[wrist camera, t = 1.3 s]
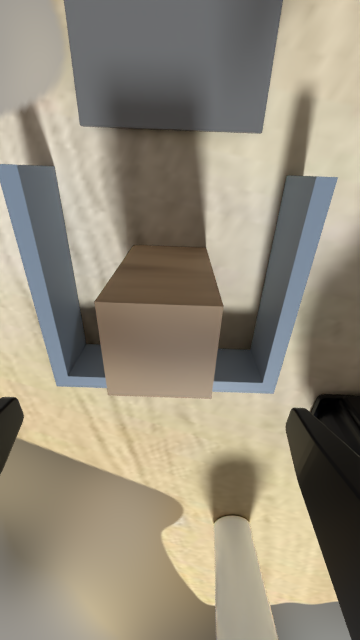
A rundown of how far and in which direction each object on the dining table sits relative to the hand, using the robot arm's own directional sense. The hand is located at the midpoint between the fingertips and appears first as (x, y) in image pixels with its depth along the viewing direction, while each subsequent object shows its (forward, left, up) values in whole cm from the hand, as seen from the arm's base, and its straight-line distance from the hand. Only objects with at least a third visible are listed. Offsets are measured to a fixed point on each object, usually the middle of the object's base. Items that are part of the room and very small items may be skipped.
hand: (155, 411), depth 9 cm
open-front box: (+1, 0, -12) cm, 12 cm away
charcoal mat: (+13, 0, -12) cm, 18 cm away
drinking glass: (-37, -9, -12) cm, 40 cm away
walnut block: (0, 0, -12) cm, 12 cm away
